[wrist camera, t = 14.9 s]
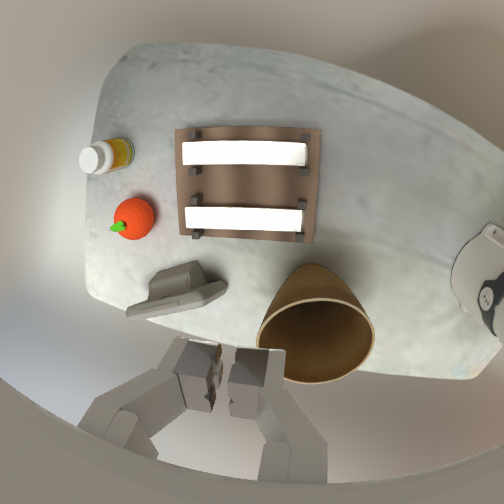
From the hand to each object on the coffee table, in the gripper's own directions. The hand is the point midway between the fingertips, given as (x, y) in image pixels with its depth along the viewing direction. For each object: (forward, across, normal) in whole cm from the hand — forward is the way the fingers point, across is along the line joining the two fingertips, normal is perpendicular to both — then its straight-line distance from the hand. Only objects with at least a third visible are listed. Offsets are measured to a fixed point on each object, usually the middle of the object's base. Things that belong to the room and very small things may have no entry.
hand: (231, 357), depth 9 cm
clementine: (+35, +24, +6) cm, 43 cm away
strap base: (+35, +5, 0) cm, 35 cm away
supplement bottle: (+35, +27, -5) cm, 45 cm away
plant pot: (+35, -6, +17) cm, 40 cm away
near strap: (+30, +5, -4) cm, 31 cm away
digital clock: (+36, +16, +20) cm, 44 cm away
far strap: (+30, +5, +5) cm, 31 cm away
